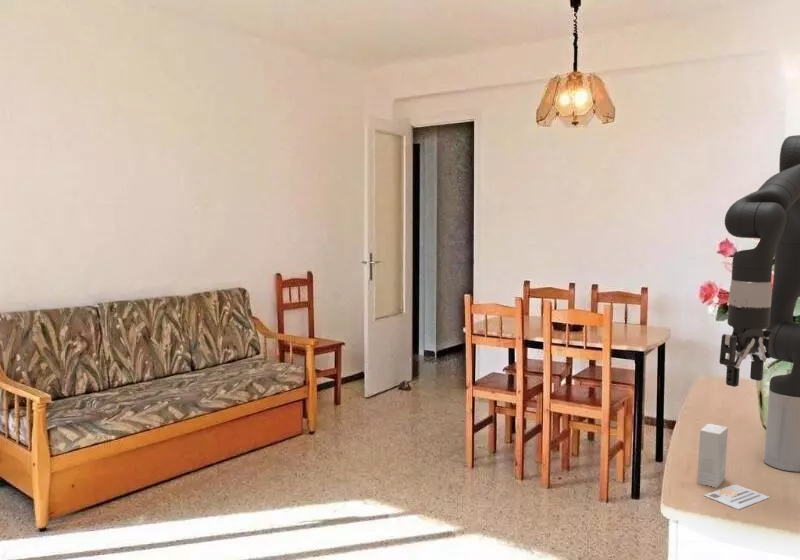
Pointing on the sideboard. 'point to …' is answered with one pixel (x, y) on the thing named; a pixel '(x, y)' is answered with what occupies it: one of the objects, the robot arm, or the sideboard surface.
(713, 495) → the letter
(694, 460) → the sideboard surface
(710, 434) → the skincare box
